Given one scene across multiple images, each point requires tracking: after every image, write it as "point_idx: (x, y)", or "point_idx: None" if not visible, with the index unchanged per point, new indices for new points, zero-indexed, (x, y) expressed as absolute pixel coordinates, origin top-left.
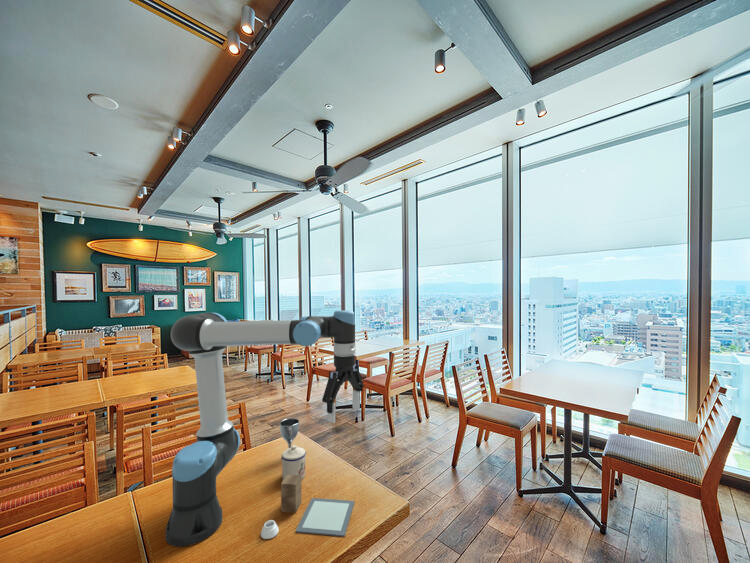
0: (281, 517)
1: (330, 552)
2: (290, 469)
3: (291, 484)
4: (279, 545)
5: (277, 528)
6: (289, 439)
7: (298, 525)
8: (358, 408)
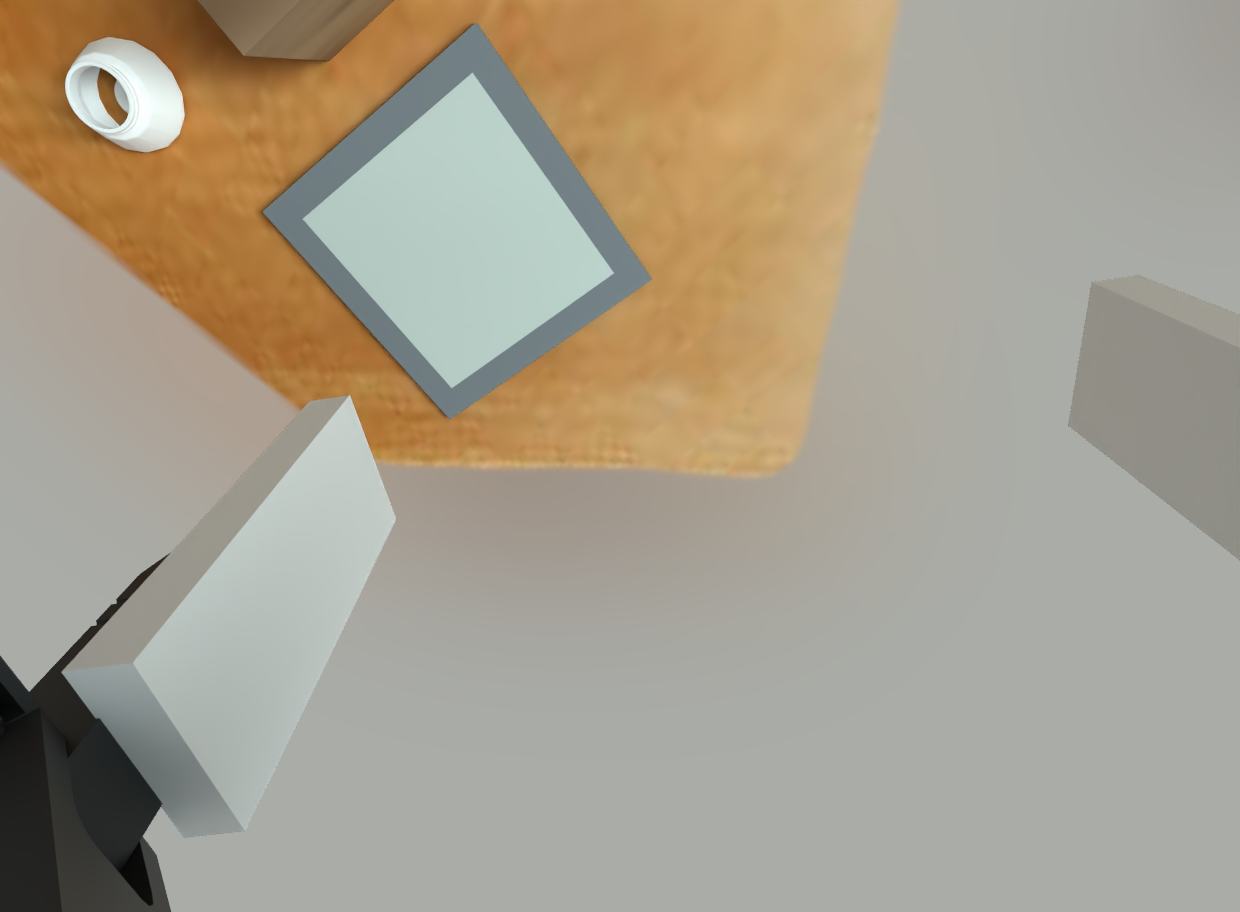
0: None
1: None
2: None
3: (215, 18)
4: (163, 225)
5: (164, 131)
6: None
7: (291, 188)
8: (1087, 440)
